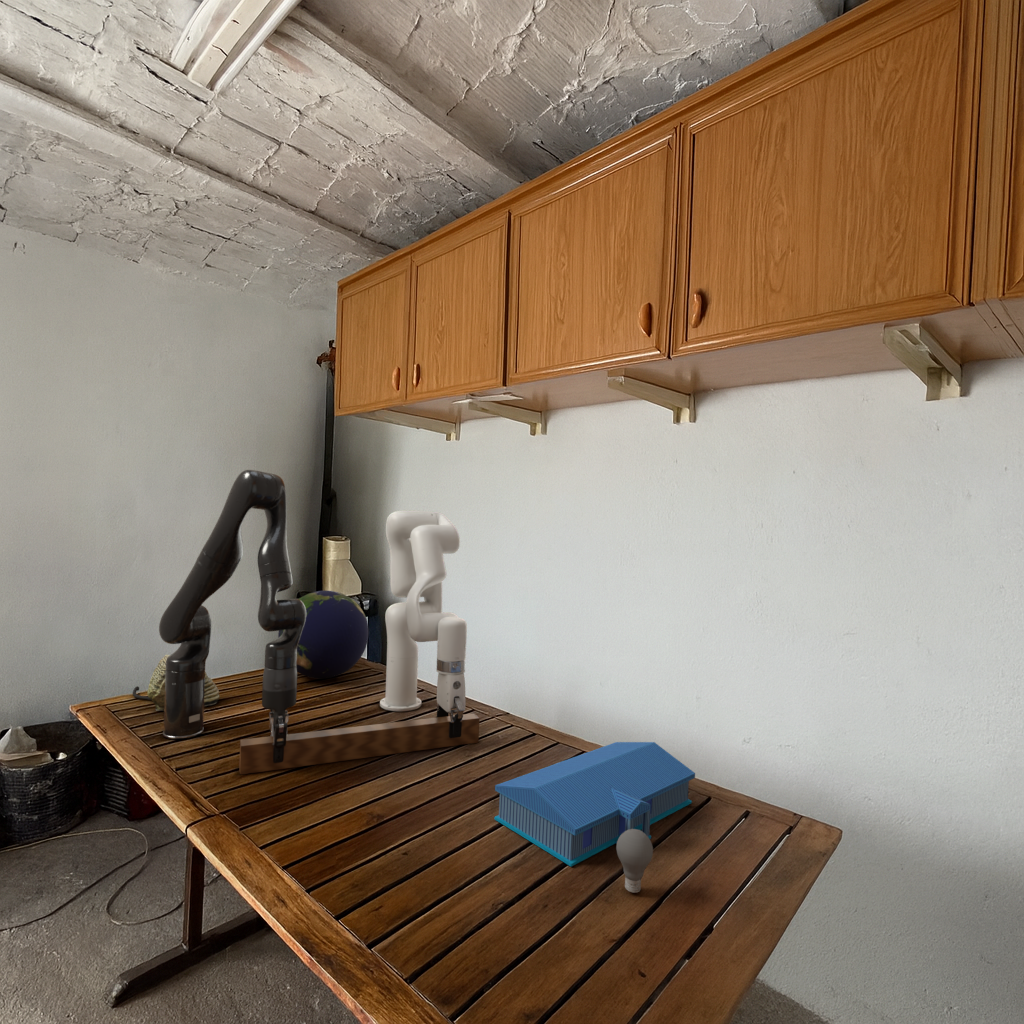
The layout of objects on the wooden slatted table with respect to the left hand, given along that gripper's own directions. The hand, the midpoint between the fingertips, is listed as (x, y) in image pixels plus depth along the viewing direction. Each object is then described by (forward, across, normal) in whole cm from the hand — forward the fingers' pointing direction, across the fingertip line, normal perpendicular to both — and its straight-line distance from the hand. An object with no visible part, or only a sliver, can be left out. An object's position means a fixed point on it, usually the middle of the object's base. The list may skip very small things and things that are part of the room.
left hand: (277, 757), depth 148 cm
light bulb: (+2, -70, -50) cm, 86 cm away
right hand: (-1, 0, -42) cm, 42 cm away
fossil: (+2, +51, +21) cm, 56 cm away
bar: (+2, 0, -21) cm, 21 cm away
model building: (+2, -46, -60) cm, 76 cm away
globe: (+2, +70, -21) cm, 73 cm away
